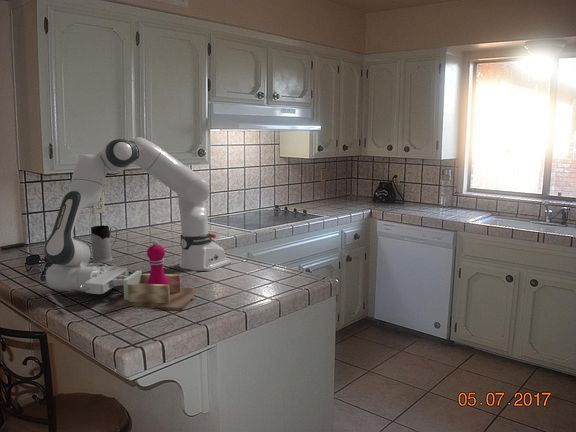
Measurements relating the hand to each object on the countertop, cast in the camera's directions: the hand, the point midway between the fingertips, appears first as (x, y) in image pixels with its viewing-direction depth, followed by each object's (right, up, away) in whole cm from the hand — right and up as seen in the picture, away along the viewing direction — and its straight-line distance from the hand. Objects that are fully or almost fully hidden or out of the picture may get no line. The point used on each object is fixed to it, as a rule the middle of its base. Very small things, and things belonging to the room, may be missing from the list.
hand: (129, 281), depth 183 cm
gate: (+1, -5, +2) cm, 5 cm away
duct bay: (+9, -6, +1) cm, 11 cm away
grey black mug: (-27, +3, +56) cm, 62 cm away
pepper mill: (+10, -6, 0) cm, 12 cm away
